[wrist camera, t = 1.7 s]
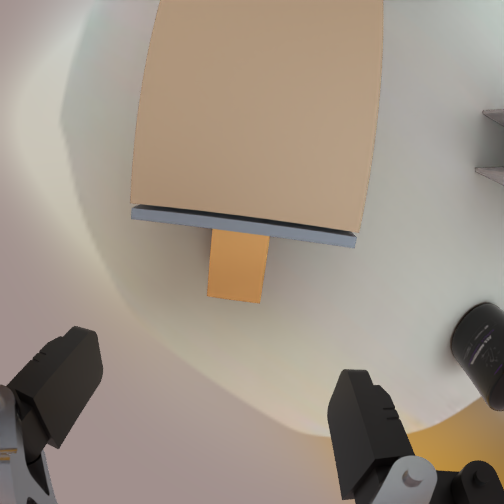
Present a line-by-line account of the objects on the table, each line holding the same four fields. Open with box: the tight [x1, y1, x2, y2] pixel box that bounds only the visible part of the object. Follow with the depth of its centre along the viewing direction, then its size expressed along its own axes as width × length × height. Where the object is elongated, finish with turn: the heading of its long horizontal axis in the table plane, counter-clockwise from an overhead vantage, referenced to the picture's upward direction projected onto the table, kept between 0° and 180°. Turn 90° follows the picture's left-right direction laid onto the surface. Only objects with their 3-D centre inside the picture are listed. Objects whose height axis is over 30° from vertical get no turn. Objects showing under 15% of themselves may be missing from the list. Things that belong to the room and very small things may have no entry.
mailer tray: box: [131, 204, 357, 303], centre depth 16 cm, size 20×12×5 cm, turn 173°
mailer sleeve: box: [130, 0, 383, 233], centre depth 15 cm, size 16×12×6 cm
